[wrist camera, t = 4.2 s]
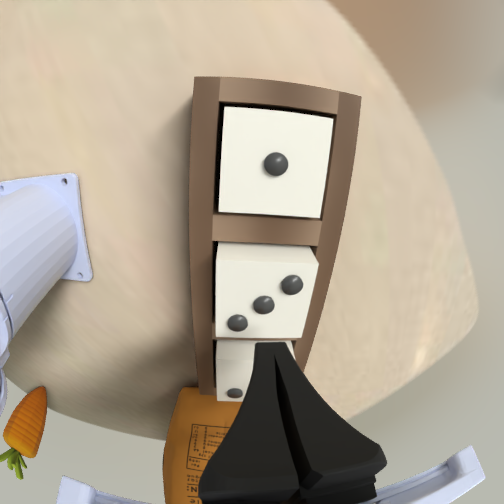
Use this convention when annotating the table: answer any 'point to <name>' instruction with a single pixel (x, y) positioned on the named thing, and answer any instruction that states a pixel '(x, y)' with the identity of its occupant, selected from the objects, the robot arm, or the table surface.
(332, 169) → the tile board
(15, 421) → the carrot
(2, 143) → the table surface
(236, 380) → the tile two
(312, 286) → the tile three
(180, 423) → the coffee package
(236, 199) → the tile one
